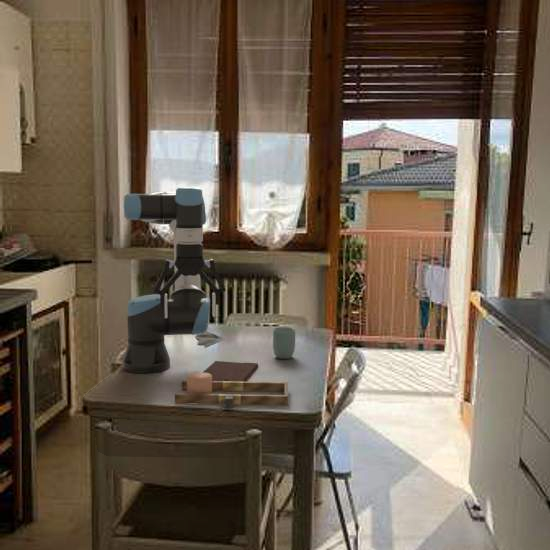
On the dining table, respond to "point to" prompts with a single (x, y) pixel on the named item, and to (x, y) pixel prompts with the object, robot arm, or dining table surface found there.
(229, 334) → the dining table surface
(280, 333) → the cup
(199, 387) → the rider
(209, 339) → the cloth
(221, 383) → the track
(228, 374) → the notebook
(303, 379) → the dining table surface
